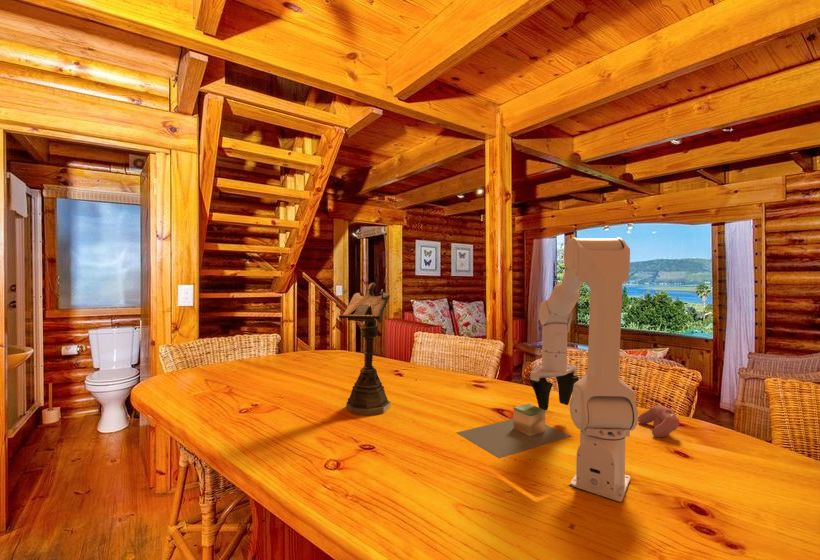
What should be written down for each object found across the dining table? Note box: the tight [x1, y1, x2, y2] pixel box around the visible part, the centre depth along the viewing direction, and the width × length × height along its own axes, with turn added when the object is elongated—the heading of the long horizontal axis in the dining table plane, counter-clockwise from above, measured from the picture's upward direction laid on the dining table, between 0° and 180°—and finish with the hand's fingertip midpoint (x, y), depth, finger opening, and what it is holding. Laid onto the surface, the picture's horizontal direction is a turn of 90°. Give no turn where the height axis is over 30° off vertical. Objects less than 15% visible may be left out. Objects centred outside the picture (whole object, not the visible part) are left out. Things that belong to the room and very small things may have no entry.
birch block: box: [513, 403, 546, 436], centre depth 89 cm, size 5×5×5 cm
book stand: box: [336, 282, 391, 417], centre depth 102 cm, size 17×13×35 cm
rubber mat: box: [455, 418, 572, 459], centre depth 87 cm, size 22×14×1 cm, turn 120°
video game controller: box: [638, 404, 680, 438], centre depth 91 cm, size 10×5×7 cm, turn 169°
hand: (553, 406), depth 93 cm, fingers open, 7 cm apart
